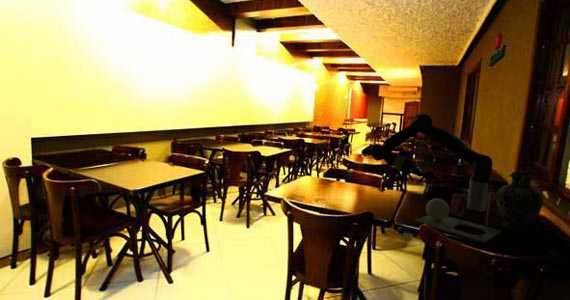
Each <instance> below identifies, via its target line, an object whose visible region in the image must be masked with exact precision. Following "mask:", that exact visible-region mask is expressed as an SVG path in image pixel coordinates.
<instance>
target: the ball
mask: <svg viewBox="0 0 570 300" xmlns="http://www.w3.org/2000/svg"><path fill="white" fill-rule="evenodd" d="M425 211H426V214H427V216H428V215H429V216H430V217H431V218H432V219H435V220H443V219H445V218H446V217H447V216H449V214H450V206H449V204H448V203H447V202H446V201H445V200H443V199H442V198H433V199H431V200H429V201H428V202H427V204H426V206H425Z"/></svg>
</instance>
